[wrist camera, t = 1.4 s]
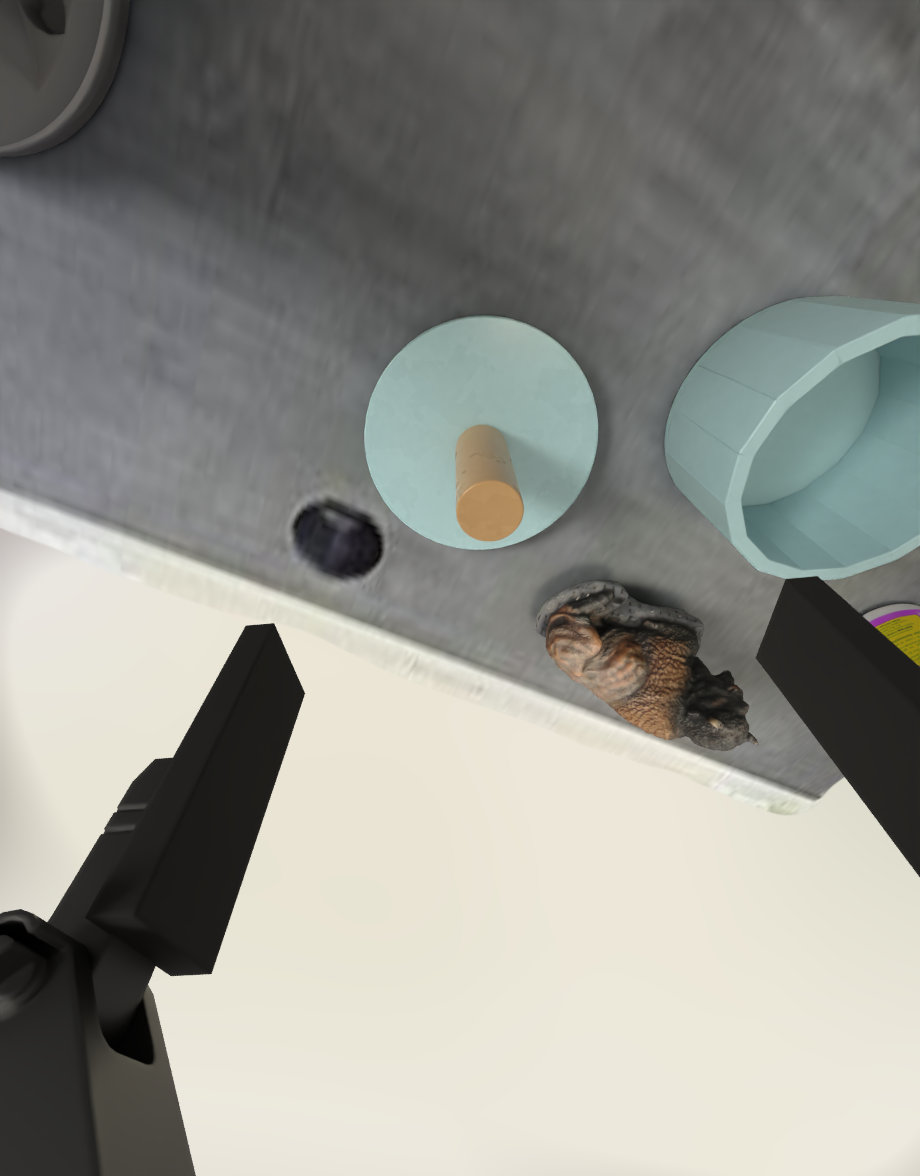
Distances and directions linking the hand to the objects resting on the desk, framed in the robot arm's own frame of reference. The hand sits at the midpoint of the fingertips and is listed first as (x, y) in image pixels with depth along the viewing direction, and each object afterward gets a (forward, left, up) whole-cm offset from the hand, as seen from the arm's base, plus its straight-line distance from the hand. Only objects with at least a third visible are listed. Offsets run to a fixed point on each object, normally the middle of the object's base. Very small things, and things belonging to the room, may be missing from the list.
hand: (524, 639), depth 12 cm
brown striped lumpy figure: (+13, +9, -17) cm, 23 cm away
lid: (0, 0, -16) cm, 16 cm away
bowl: (0, +16, -17) cm, 23 cm away
